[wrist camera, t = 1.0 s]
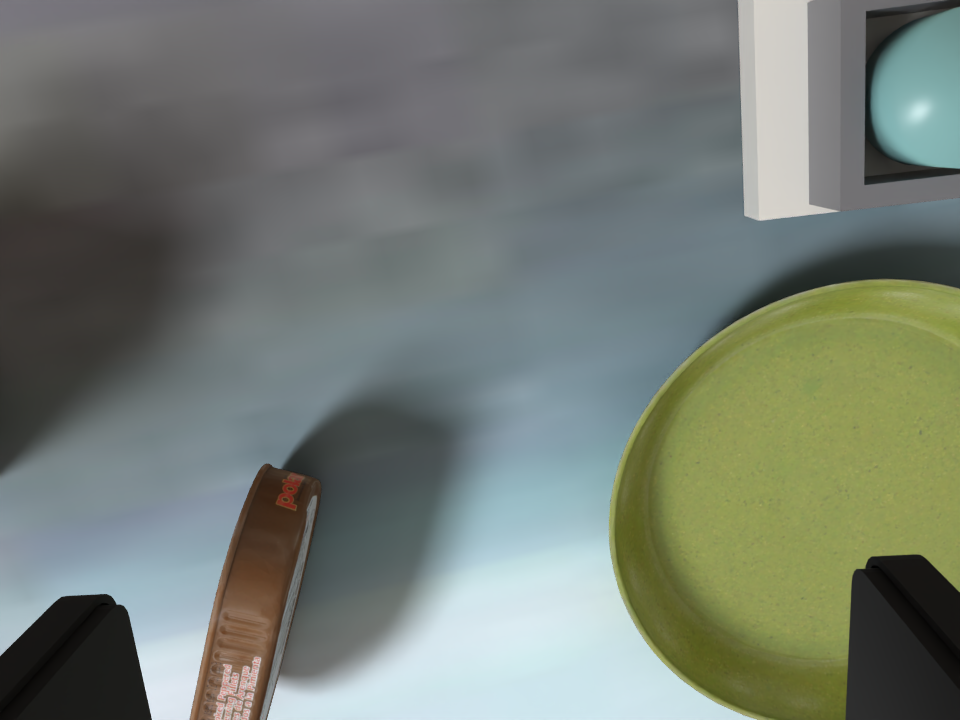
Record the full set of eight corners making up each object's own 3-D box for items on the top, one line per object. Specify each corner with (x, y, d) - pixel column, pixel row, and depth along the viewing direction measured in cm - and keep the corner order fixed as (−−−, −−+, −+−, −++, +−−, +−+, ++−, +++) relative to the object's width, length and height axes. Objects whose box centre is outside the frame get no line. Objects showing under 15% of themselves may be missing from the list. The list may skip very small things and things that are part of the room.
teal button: (857, 25, 27) (898, 12, 24) (1007, 5, 27) (1068, -11, 24) (856, 173, 28) (895, 177, 26) (1000, 156, 28) (1055, 158, 25)
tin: (279, 433, 36) (212, 519, 28) (346, 451, 36) (299, 542, 28) (220, 700, 40) (148, 842, 32) (281, 715, 40) (223, 861, 32)
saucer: (1136, 558, 36) (1194, 597, 33) (734, 750, 40) (753, 801, 37) (946, 170, 32) (992, 173, 29) (516, 425, 36) (516, 452, 33)
